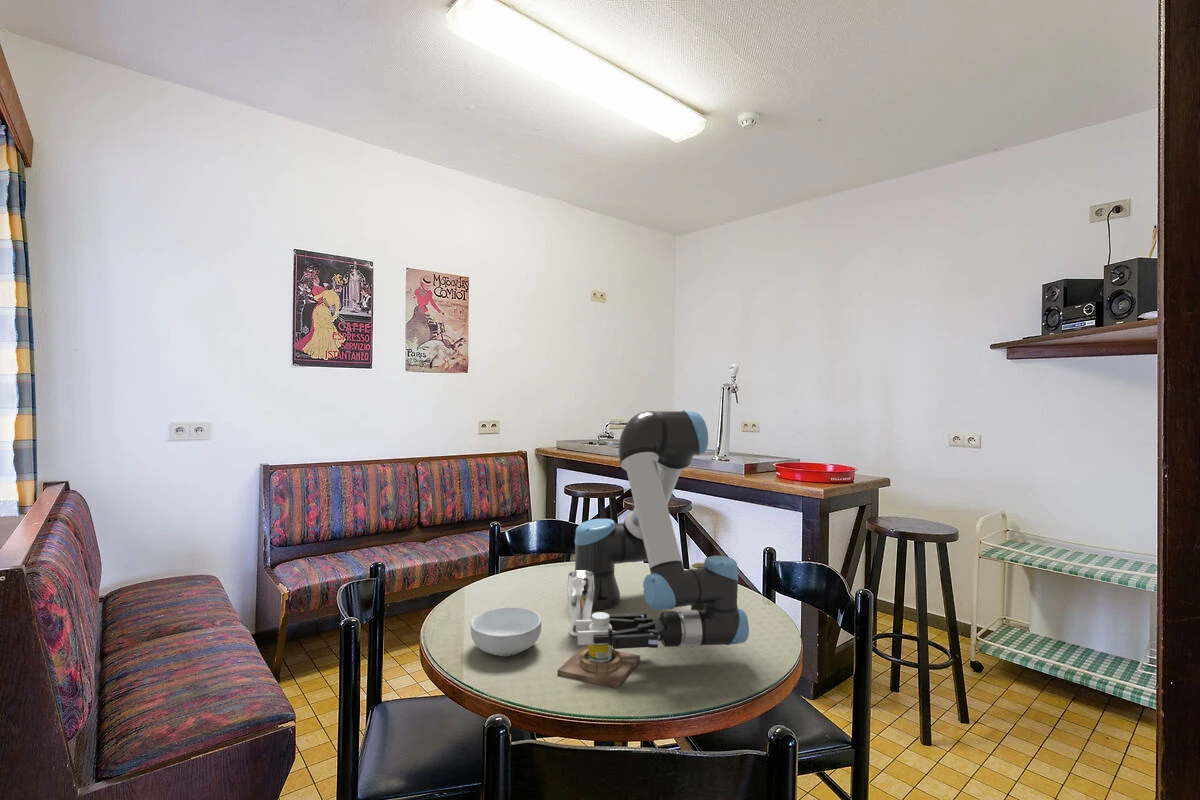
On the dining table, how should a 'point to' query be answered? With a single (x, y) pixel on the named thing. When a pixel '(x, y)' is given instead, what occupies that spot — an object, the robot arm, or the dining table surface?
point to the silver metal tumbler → (580, 597)
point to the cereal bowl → (506, 630)
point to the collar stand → (600, 668)
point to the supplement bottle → (600, 651)
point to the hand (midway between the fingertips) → (577, 632)
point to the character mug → (697, 566)
